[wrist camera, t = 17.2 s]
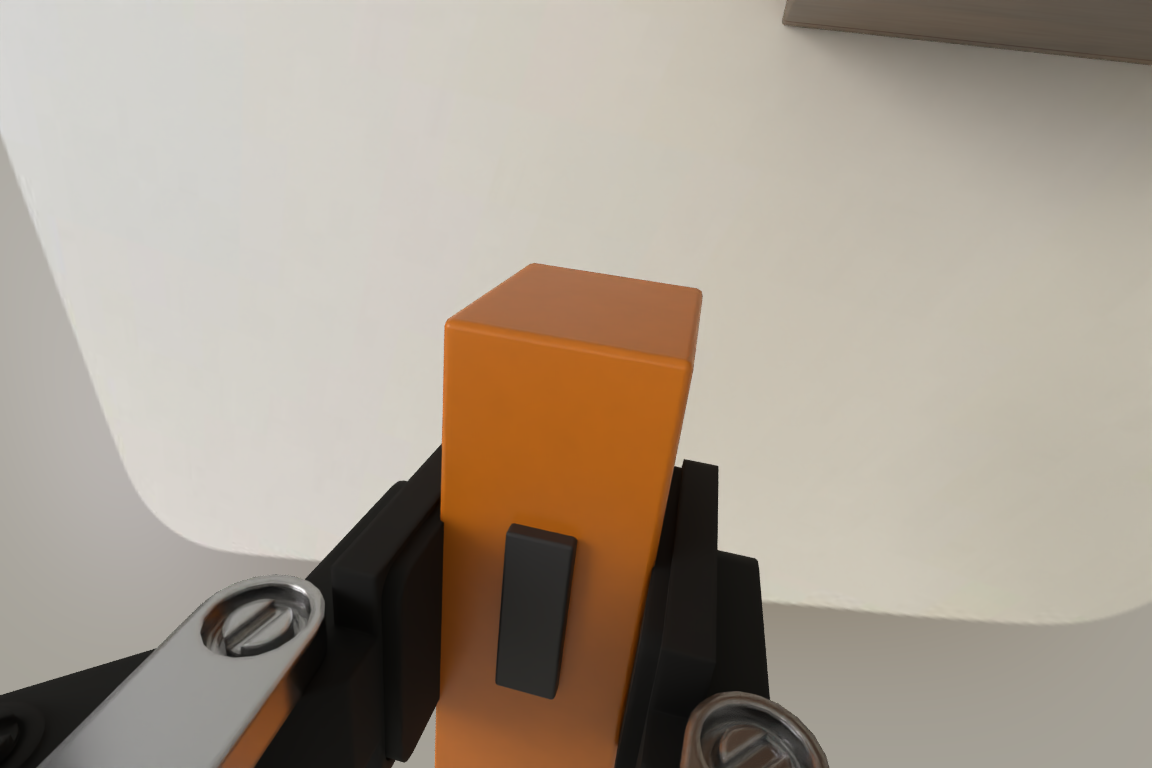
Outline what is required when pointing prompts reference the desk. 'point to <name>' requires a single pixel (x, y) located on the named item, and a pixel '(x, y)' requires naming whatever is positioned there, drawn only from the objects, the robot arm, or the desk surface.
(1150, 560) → the desk surface
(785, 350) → the desk surface
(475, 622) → the orange block with switch
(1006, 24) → the cabinet
